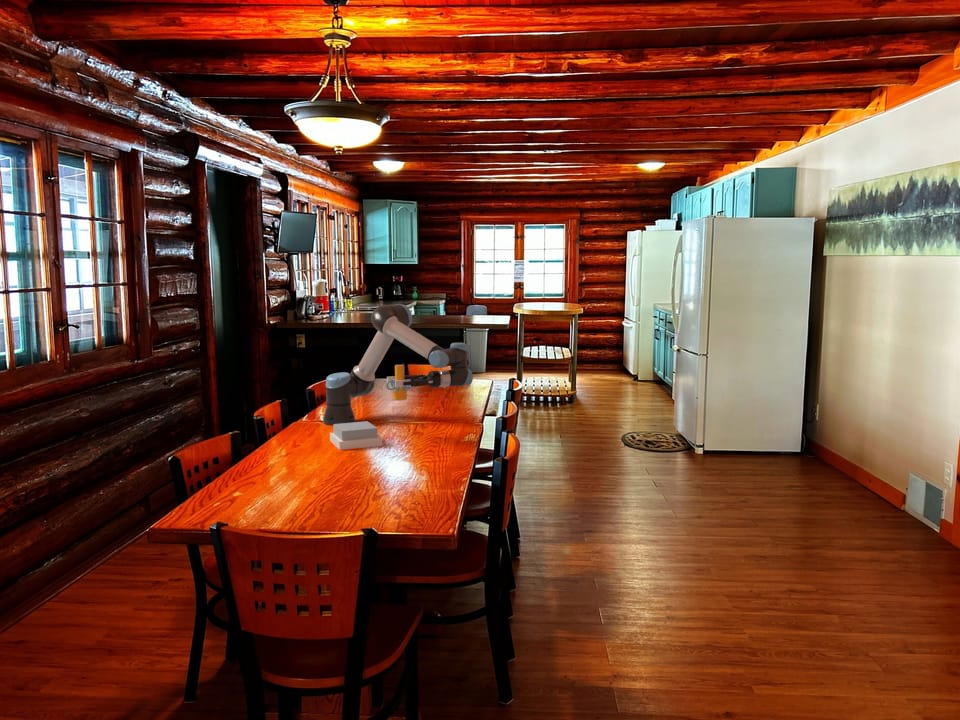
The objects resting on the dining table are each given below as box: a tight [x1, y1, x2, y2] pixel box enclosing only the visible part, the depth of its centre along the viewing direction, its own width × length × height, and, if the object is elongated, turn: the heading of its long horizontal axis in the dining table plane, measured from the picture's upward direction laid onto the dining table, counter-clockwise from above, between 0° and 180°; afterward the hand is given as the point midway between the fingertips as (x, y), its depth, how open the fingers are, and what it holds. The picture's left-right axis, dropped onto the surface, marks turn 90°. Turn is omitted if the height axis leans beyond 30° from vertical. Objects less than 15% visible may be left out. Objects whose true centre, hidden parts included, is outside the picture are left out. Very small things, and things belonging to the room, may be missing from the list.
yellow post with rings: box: [385, 364, 414, 401], centre depth 313 cm, size 12×10×15 cm
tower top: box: [332, 421, 379, 441], centre depth 305 cm, size 15×15×4 cm
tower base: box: [329, 432, 383, 451], centre depth 305 cm, size 18×18×4 cm
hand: (391, 381), depth 312 cm, fingers closed on yellow post with rings, 11 cm apart
